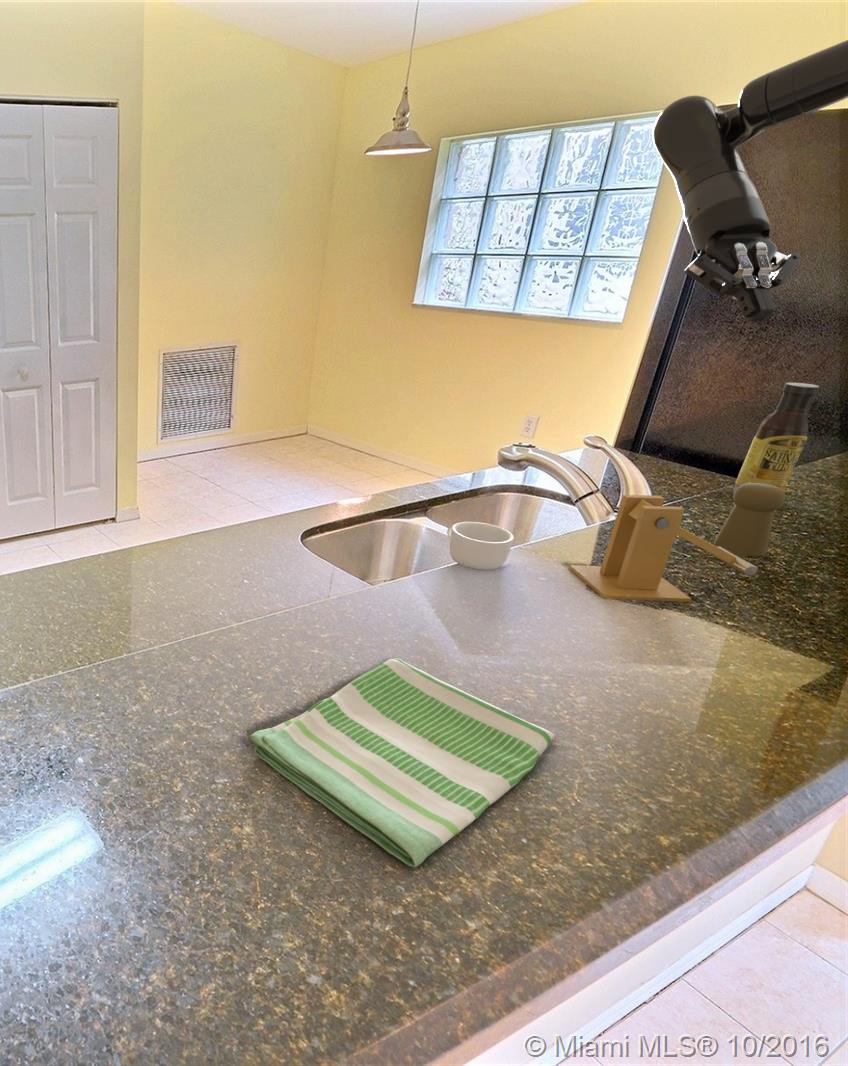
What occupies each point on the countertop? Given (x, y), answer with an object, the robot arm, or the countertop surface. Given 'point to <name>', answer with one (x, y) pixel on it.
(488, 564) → the teacup
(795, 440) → the sauce bottle
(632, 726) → the countertop surface
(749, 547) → the cork
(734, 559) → the tap lever
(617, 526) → the bracket
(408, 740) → the dish towel
